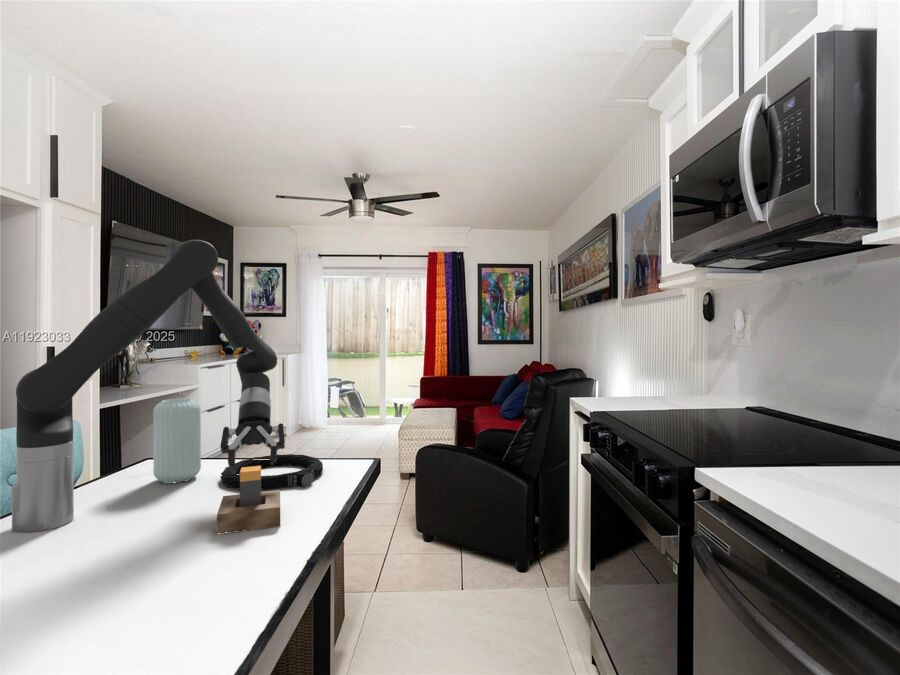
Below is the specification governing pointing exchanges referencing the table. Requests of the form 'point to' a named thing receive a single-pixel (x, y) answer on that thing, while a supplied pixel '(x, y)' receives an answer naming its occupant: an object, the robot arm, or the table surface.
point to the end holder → (248, 513)
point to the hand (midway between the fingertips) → (252, 464)
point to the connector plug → (250, 486)
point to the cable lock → (277, 481)
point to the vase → (176, 440)
